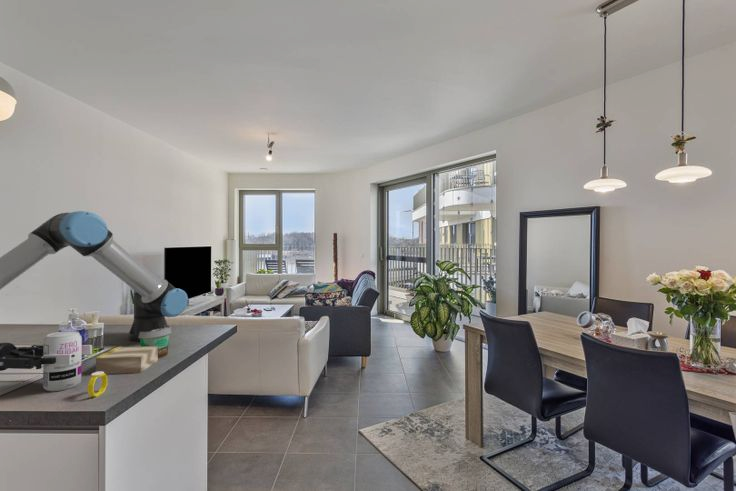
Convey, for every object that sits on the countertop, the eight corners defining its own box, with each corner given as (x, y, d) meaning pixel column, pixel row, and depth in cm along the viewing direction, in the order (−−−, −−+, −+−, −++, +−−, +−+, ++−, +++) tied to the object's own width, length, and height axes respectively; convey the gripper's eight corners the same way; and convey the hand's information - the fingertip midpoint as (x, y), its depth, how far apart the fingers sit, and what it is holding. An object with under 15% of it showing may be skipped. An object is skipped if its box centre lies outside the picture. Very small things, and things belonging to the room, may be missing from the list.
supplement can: (61, 380, 105) (61, 330, 105) (88, 381, 105) (88, 330, 105) (34, 392, 97) (35, 337, 97) (64, 392, 97) (64, 337, 97)
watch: (95, 400, 93) (95, 378, 93) (84, 400, 93) (83, 378, 93) (110, 389, 99) (109, 368, 99) (100, 389, 99) (99, 368, 99)
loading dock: (117, 361, 122) (117, 346, 122) (157, 360, 124) (157, 345, 124) (95, 374, 111) (95, 357, 111) (140, 372, 112) (141, 356, 112)
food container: (153, 362, 122) (153, 333, 122) (138, 360, 124) (138, 332, 124) (179, 351, 134) (179, 325, 134) (165, 350, 136) (165, 324, 136)
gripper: (22, 358, 109) (103, 355, 112) (-48, 385, 88) (54, 381, 91) (22, 333, 109) (103, 332, 112) (-48, 355, 88) (54, 352, 91)
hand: (81, 354), depth 102 cm, fingers closed on supplement can, 8 cm apart
